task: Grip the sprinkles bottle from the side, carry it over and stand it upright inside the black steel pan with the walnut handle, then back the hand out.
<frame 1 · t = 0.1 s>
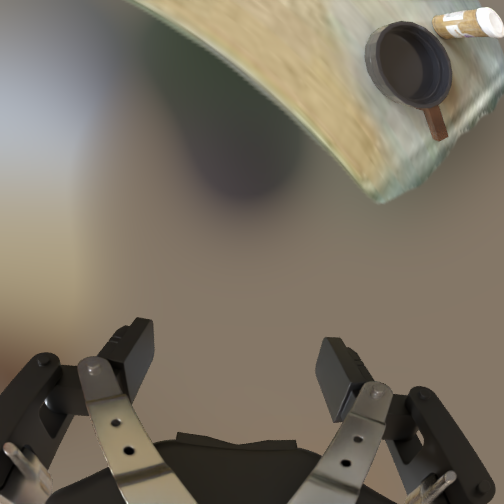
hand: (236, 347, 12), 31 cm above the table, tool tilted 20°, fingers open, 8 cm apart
pan handle: (425, 117, 32), on the table
pan: (402, 64, 28), on the table
sprinkles bottle: (441, 27, 22), on the table
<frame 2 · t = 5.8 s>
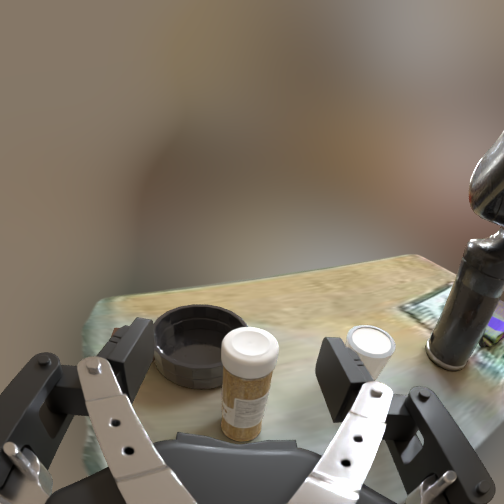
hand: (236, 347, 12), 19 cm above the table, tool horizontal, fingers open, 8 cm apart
dish towel: (484, 318, 46), on the table
white cup: (355, 377, 34), on the table
pan: (200, 356, 36), on the table
sprinkles bottle: (241, 427, 26), on the table
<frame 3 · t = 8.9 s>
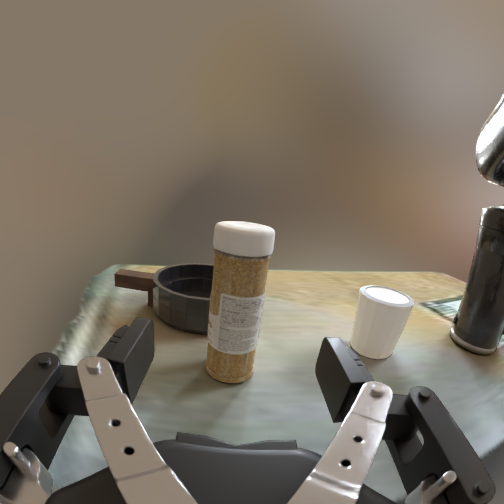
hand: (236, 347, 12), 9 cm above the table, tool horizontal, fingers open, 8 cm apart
white cup: (370, 348, 30), on the table
pan handle: (137, 300, 35), on the table
pan: (202, 310, 35), on the table
sprinkles bottle: (229, 372, 24), on the table
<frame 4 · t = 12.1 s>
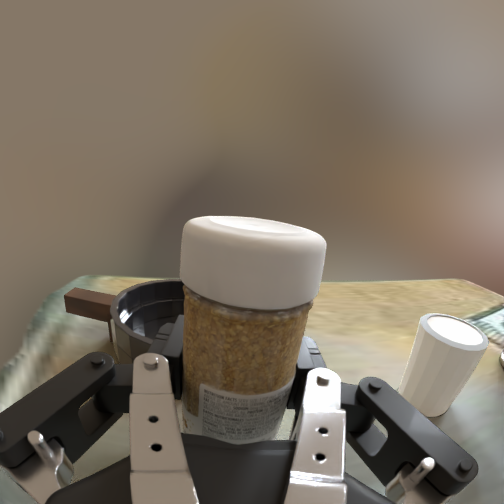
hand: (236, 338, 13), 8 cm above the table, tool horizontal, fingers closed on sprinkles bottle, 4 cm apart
white cup: (423, 398, 18), on the table
pan handle: (97, 332, 23), on the table
pan: (187, 349, 23), on the table
sprinkles bottle: (225, 469, 12), on the table, touching gripper
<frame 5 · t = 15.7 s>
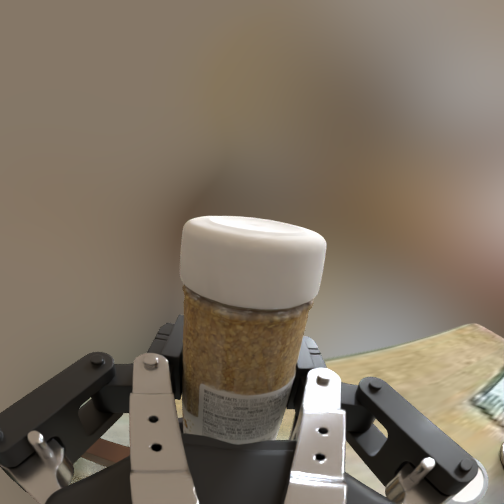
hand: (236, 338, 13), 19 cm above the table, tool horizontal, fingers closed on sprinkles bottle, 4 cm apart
pan handle: (114, 468, 17), on the table
sprinkles bottle: (225, 469, 12), point 11 cm above the table, touching gripper
when the fingers open (8 cm above the table, at t = 19.3 s): sprinkles bottle stays where it is, resting on pan.
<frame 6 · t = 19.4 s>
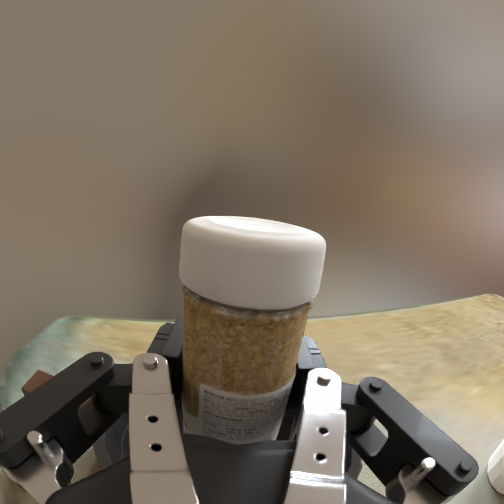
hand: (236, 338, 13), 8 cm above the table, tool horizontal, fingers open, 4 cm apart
pan handle: (81, 434, 12), on the table
pan: (225, 467, 12), on the table
sprinkles bottle: (225, 469, 12), resting on pan
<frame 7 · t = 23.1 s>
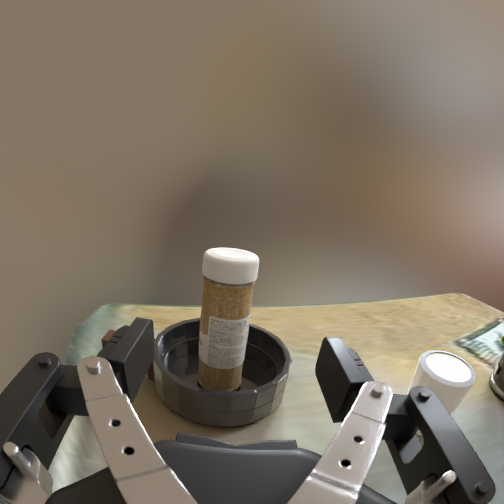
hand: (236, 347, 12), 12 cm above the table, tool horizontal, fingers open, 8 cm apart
white cup: (419, 419, 20), on the table
pan handle: (133, 369, 25), on the table
pan: (219, 383, 26), on the table
sprinkles bottle: (219, 383, 25), resting on pan
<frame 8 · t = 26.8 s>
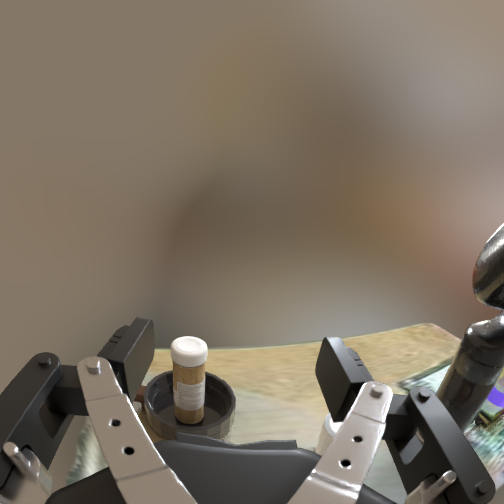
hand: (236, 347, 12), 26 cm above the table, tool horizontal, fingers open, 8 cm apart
dish towel: (488, 391, 37), on the table
white cup: (333, 453, 30), on the table
pan handle: (132, 404, 34), on the table
pan: (189, 415, 35), on the table
sprinkles bottle: (189, 415, 35), resting on pan
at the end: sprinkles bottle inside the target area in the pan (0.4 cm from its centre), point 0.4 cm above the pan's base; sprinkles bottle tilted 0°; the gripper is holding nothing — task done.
